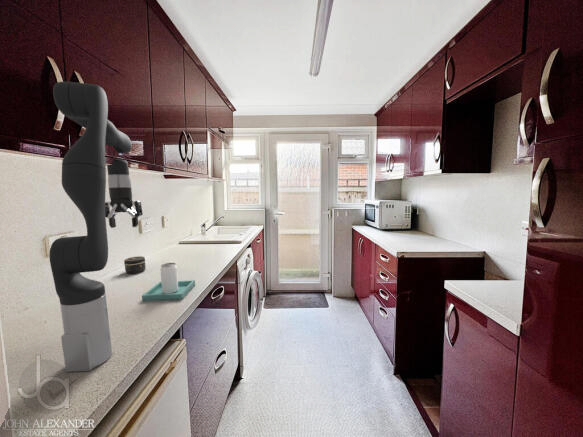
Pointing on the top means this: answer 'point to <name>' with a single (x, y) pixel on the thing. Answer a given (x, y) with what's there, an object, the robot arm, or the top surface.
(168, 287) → the can
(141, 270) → the jar
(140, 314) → the top surface
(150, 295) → the tray
